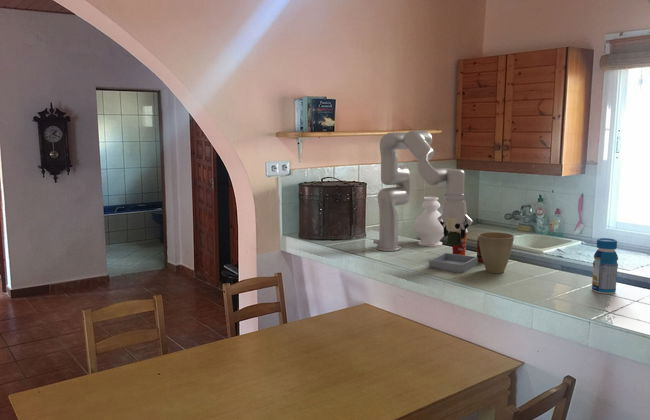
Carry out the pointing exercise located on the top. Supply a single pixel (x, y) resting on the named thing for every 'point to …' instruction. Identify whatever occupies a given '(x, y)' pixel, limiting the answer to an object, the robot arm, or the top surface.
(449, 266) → the grey bin
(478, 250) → the canned food
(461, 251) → the paper cup
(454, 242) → the character mug
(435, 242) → the decorative vase
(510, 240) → the plant pot
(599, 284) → the beverage bottle
